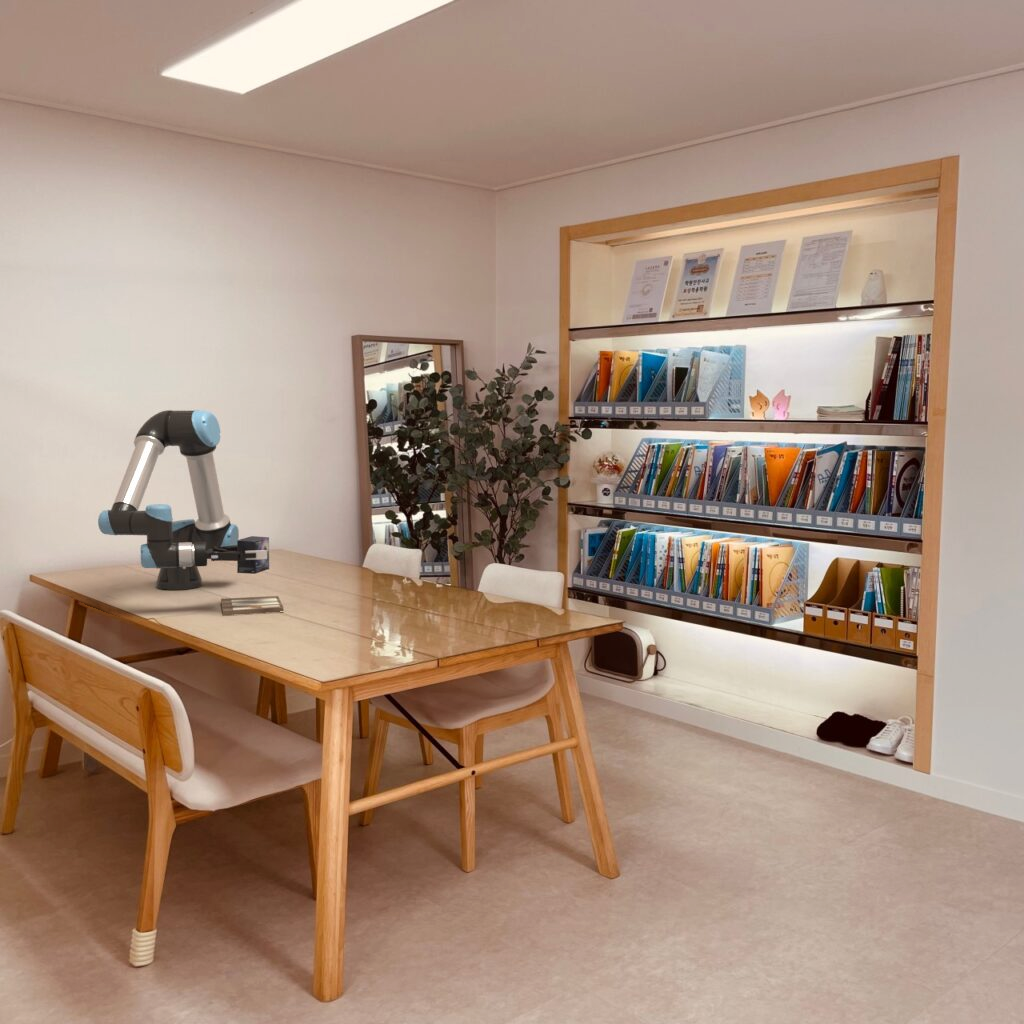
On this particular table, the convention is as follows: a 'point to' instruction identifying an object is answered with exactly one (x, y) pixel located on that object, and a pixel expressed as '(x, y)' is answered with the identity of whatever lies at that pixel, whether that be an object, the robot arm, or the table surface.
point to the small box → (252, 545)
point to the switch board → (251, 605)
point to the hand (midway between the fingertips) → (265, 551)
